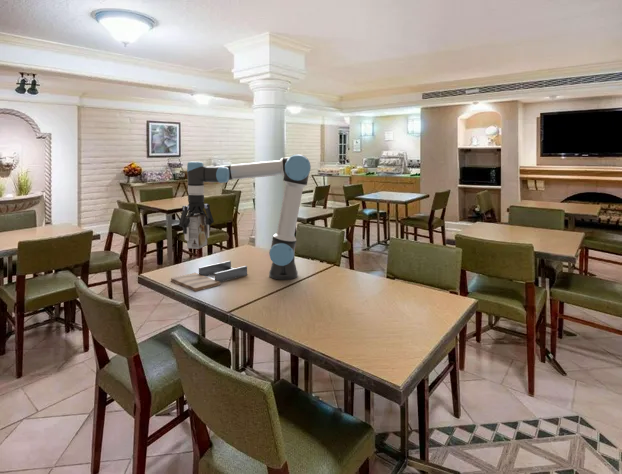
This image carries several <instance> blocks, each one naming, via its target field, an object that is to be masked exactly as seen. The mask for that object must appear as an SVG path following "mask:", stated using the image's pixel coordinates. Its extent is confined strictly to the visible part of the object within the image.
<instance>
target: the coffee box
mask: <svg viewBox="0 0 622 474" xmlns="http://www.w3.org/2000/svg"><path fill="white" fill-rule="evenodd" d="M205 214H206V213H205ZM205 214H200V213H197V214H194V215H193V216H187V215H186V219H188V218H189V217H190V222H189V224H188V226H187V227H189V241H186V245H187V246H186V248H187V249H196V250H200V249H202V248H204V247H206V246H208V238H207V221H206V219H205Z"/></svg>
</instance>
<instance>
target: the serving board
mask: <svg viewBox="0 0 622 474" xmlns="http://www.w3.org/2000/svg"><path fill="white" fill-rule="evenodd" d="M208 277H209V276H208ZM208 277H206V276H203V275H200V274H199V273H197V272H192V273H188V274H184V275H183V274H182V275H179V276H175V277H171V278H170V282H173V283H175V284H177V285H179V286H183V287H184V288H187V289H189V290H192V291H194V292H198V291H202V290H205V289H210V288H214V287H217V286H221V282H219V281H216V280H214V279H215V278H214V279H211V278H212V277H211V278H208Z"/></svg>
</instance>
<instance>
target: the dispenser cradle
mask: <svg viewBox="0 0 622 474" xmlns="http://www.w3.org/2000/svg"><path fill="white" fill-rule="evenodd" d="M198 274H200V275H203V276H206V277H208V278H211V279H214V280H216V281H219V282H220V283H222V282H226V281H230V280H234V279H238V278H241V277H245V276H248V266H247V265H243V266H240V267H239V266H238V267H236V268H235V267H233V266H232V261H231V260H227V261H223V262H218V263H213V264H209V265H203V266H200V267H198ZM211 275H214V278H213V277H211Z"/></svg>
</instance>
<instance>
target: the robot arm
mask: <svg viewBox="0 0 622 474" xmlns="http://www.w3.org/2000/svg"><path fill="white" fill-rule="evenodd" d="M186 166H187V167H186V173H187V175H186V177H187V194H188V195H187V201H188V205H182V206H181V208H182V212H181V215H180V219H179V223H178V226H179V227H182V234H183V235H184V241H186V242H187V241H189V227H187V226H188V224H189V222H190V217H189V218H188V219H186V216H193V215H194V214H197V213H199V214H205V219H206V221H207V239H209V238H210V231H211V226H212V224H214V223H215V222H214V221H215V220H214V218H213V215H212V211H211V205H210V204H209V203H205V183H220V184H223V183H228V182H229V181H232V180H240V179H253V178H254V179H255V178H264V177H274V176H275V177H277V176H282V177H283V179H282V180H283V183H284V184H285V186H284V192H283V197H282V203H281V207H280V213H279V219H278V223H277V225H278V226H277V231H276V233H274V234H273V235H272V238H271V239H272V240H271V246H270V249H269V258H270V260H271V262H272V263H271V266H270V270H269V273H268V274H269V277H270V278H272V279H275V280H278V281H279V280H280V281H281V280H283V281H284V280H286V281H288V280H294V279H296V278H298V270H297V266H296V262H295V259H296V258H295V255H296V254H295V249H296V243H297V238H296V236H295V233H296V228H297V222H298V217H299V211H300V208H301V207H300V206H301V201H302V197H303V190H304V188H305V187H307V186H308V181H309V177H310V172H311V162H310V160H309V159H308V158H307V157H306V156H305V155H303V154H301V153H300V154H298V153H295V154H293V155H290V156H287V157H281V158H280V160H268V161H267V160H265V161H258V162H247V163H236V164H235V163H234V164H227V165H226V164H224V165H223V164H222V165H217V166H207V165H204V162H203V161H188V162H187V164H186Z"/></svg>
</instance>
